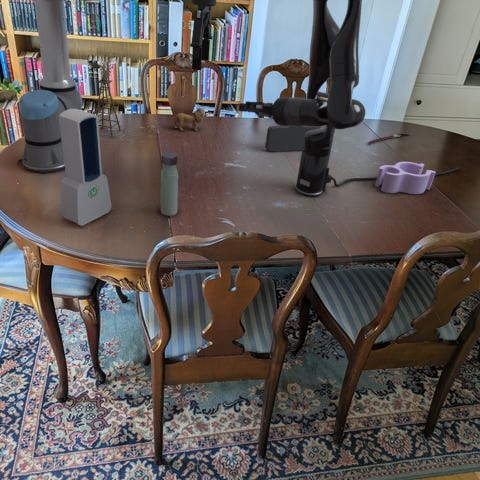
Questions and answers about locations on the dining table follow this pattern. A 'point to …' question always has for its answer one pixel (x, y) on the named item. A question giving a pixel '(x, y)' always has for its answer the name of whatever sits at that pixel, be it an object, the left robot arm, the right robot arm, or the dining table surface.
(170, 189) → the bottle
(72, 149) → the electronic device
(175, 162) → the cap
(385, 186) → the clip
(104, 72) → the miniature windmill
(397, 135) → the sword
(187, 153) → the dining table surface
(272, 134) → the handheld gaming console
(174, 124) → the lion figurine
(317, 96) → the right robot arm
